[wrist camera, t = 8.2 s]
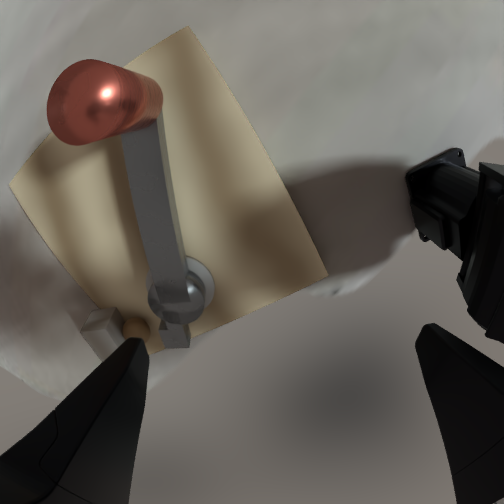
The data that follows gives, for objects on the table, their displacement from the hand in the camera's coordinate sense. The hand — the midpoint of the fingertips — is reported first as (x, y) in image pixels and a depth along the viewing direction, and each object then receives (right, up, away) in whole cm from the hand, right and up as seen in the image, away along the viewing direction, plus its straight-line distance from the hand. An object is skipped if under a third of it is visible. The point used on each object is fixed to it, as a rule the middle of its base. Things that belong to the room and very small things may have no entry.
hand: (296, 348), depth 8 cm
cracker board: (-9, +5, +12) cm, 16 cm away
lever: (-7, +4, +10) cm, 13 cm away
